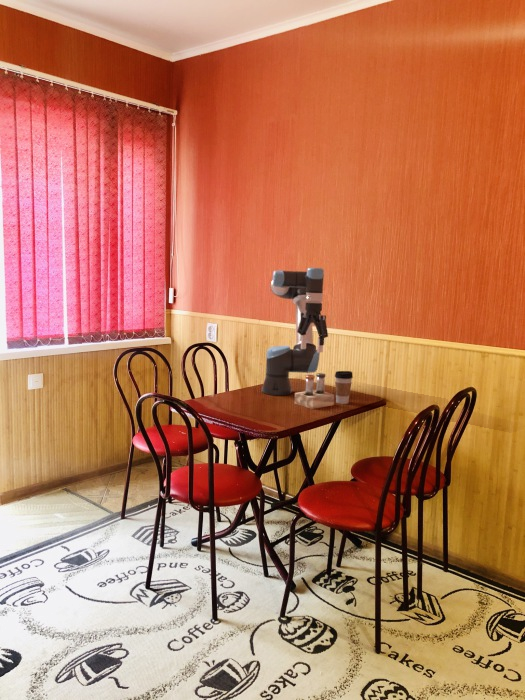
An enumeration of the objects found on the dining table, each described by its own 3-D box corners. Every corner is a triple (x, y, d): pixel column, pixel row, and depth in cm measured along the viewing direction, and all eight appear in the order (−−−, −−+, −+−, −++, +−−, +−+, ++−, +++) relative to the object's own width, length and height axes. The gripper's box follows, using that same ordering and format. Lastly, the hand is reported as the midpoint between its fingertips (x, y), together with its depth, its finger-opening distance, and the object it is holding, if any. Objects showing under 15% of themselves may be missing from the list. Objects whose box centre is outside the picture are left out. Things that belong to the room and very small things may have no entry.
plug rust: (302, 394, 265) (303, 375, 263) (309, 393, 267) (310, 374, 266) (308, 396, 261) (309, 376, 260) (315, 395, 264) (316, 376, 263)
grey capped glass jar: (313, 392, 269) (314, 373, 268) (320, 391, 272) (320, 372, 270) (320, 394, 266) (321, 375, 265) (326, 393, 269) (327, 374, 267)
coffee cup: (350, 405, 268) (352, 373, 266) (332, 403, 270) (334, 372, 267) (351, 401, 276) (353, 370, 274) (334, 399, 278) (335, 369, 276)
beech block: (294, 403, 268) (294, 392, 267) (315, 399, 276) (316, 389, 276) (312, 408, 258) (312, 398, 258) (333, 404, 267) (334, 394, 267)
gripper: (290, 300, 264) (288, 347, 267) (326, 304, 247) (323, 354, 250) (302, 300, 269) (300, 346, 272) (338, 304, 252) (335, 353, 255)
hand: (311, 350), depth 261 cm, fingers open, 10 cm apart
